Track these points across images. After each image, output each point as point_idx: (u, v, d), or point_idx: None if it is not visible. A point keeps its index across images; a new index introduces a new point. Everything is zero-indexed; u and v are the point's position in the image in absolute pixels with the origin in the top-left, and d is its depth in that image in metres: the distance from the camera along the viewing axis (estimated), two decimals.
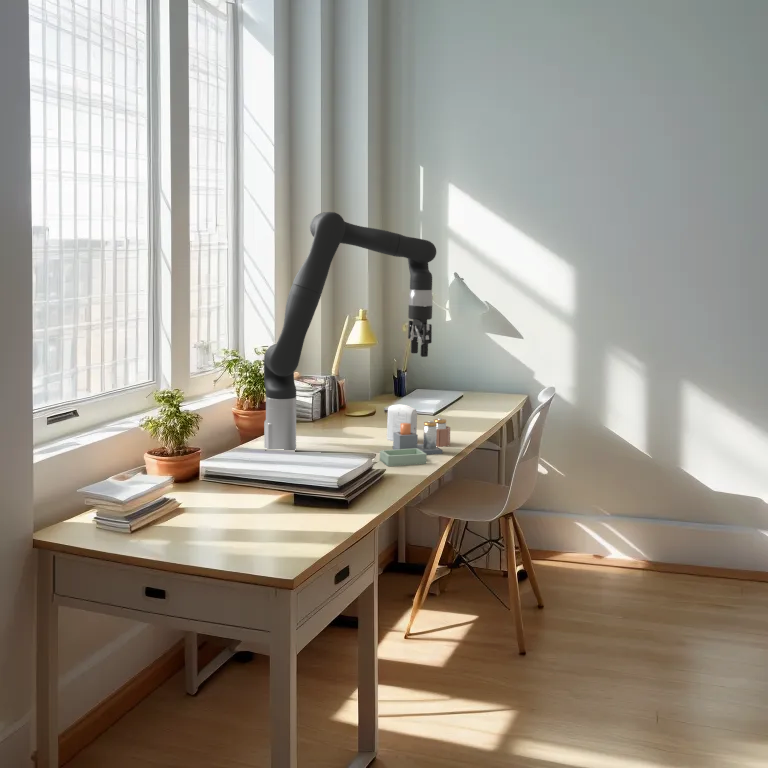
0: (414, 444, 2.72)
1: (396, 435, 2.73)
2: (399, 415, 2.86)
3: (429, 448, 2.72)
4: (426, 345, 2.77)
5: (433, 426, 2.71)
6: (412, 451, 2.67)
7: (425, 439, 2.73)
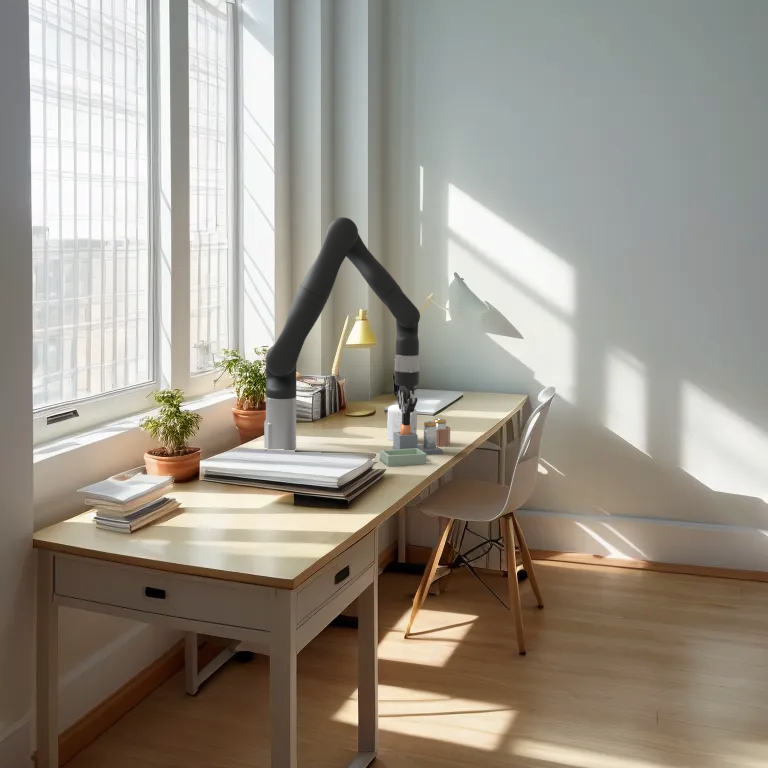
0: (414, 444, 2.72)
1: (396, 435, 2.73)
2: (399, 415, 2.86)
3: (429, 448, 2.72)
4: None
5: (433, 426, 2.71)
6: (412, 451, 2.67)
7: (425, 439, 2.73)
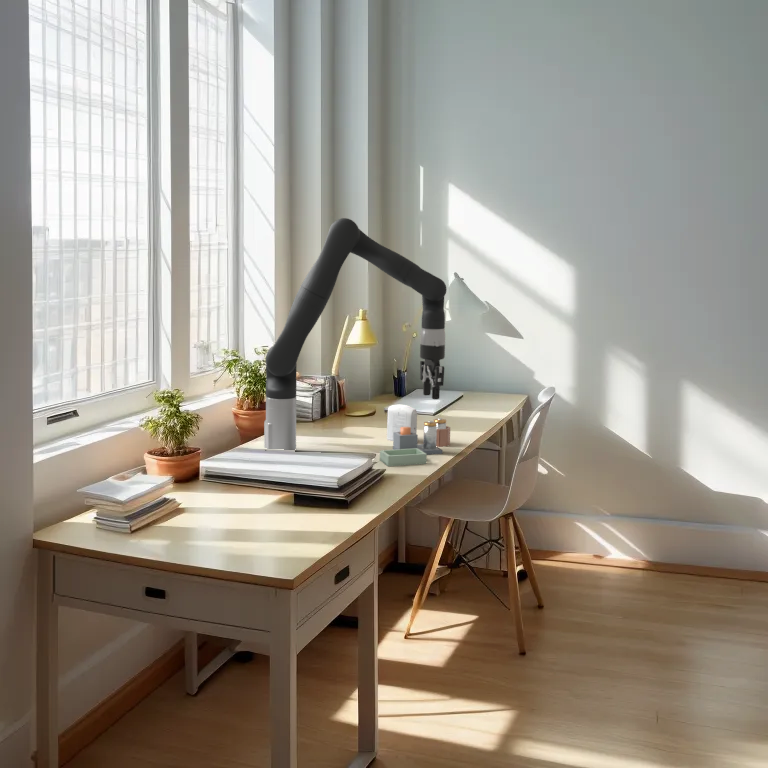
0: (414, 444, 2.72)
1: (396, 435, 2.73)
2: (399, 415, 2.86)
3: (429, 448, 2.72)
4: (437, 388, 2.67)
5: (433, 426, 2.71)
6: (412, 451, 2.67)
7: (425, 439, 2.73)
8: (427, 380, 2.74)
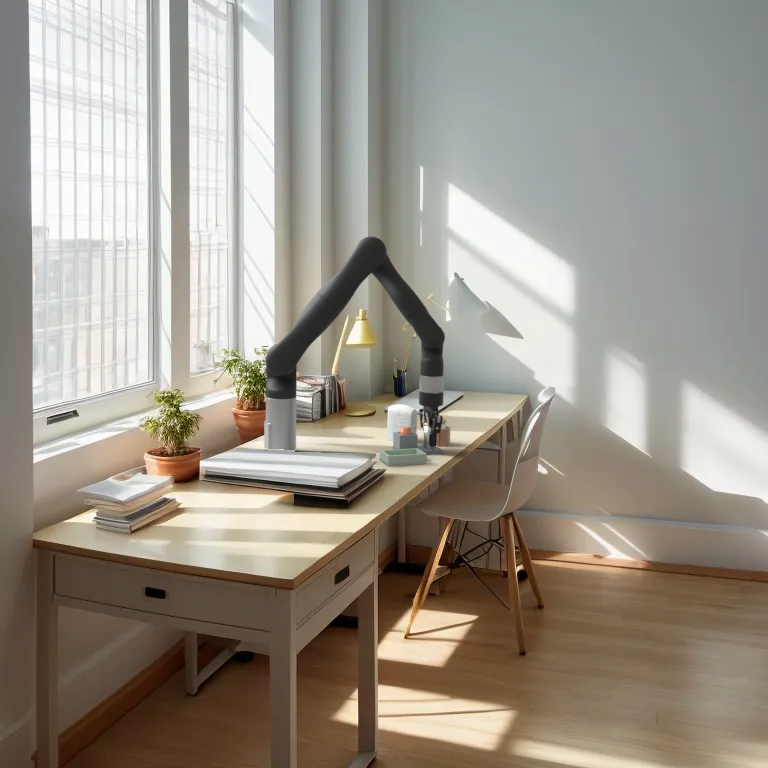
0: (414, 444, 2.72)
1: (396, 435, 2.73)
2: (399, 415, 2.86)
3: (429, 448, 2.72)
4: (434, 435, 2.71)
5: None
6: (412, 451, 2.67)
7: (425, 439, 2.73)
8: None
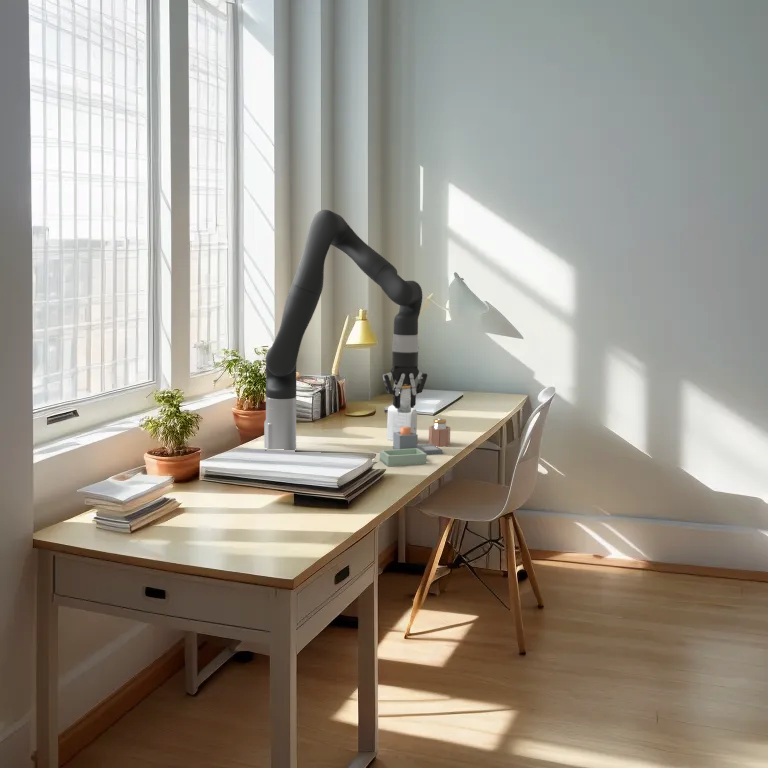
0: (414, 444, 2.72)
1: (396, 435, 2.73)
2: (399, 415, 2.86)
3: (397, 410, 2.60)
4: None
5: None
6: (412, 451, 2.67)
7: None
8: (411, 392, 2.60)
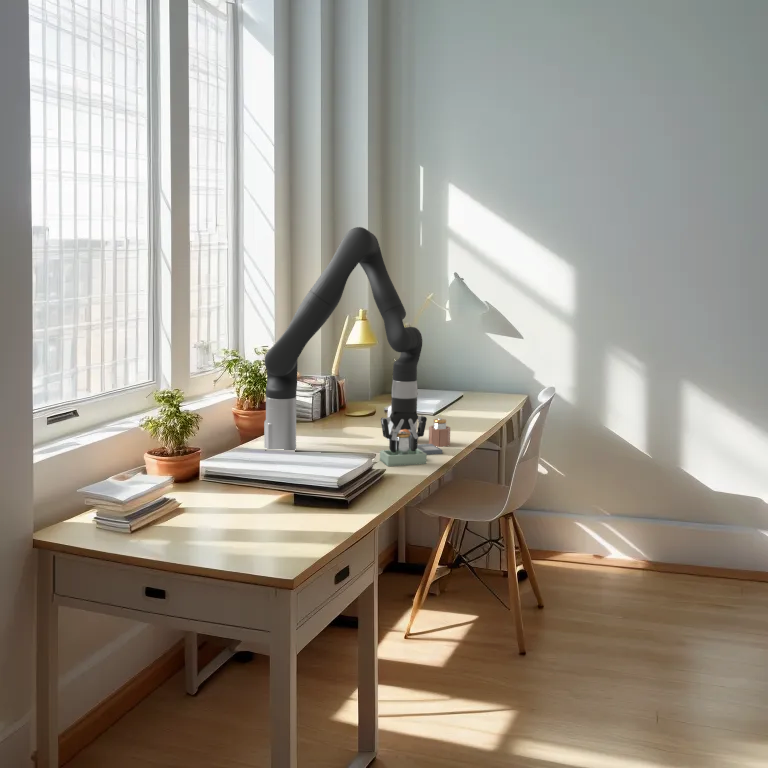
0: None
1: None
2: None
3: None
4: (390, 440, 2.60)
5: (397, 436, 2.60)
6: (412, 451, 2.67)
7: None
8: (413, 435, 2.62)
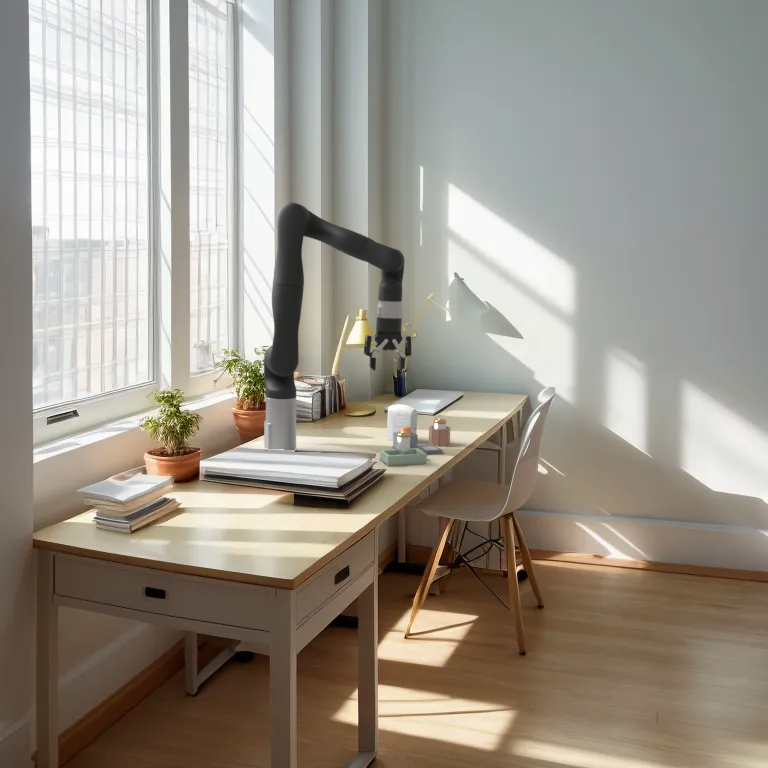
0: (414, 444, 2.72)
1: (396, 435, 2.73)
2: (399, 415, 2.86)
3: None
4: (370, 358, 2.64)
5: (397, 436, 2.61)
6: (412, 451, 2.67)
7: None
8: None
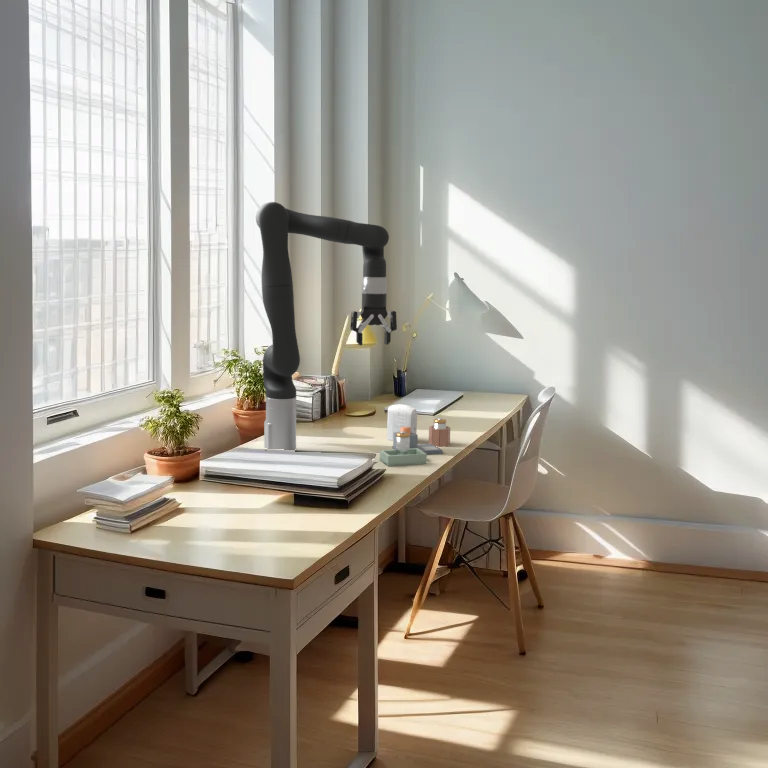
0: (414, 444, 2.72)
1: None
2: (399, 415, 2.86)
3: None
4: (357, 333, 2.70)
5: (396, 436, 2.61)
6: (412, 451, 2.67)
7: None
8: None
